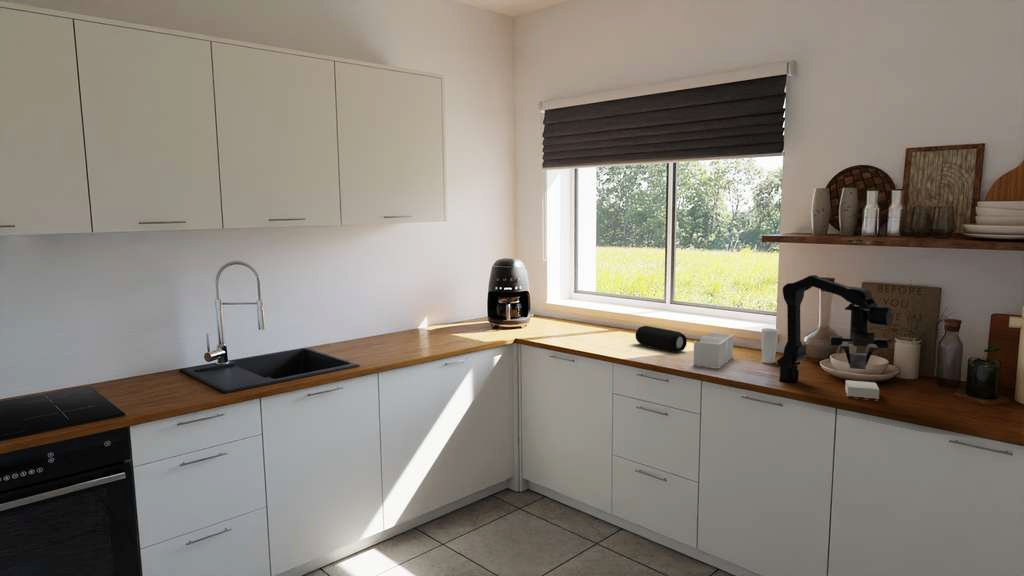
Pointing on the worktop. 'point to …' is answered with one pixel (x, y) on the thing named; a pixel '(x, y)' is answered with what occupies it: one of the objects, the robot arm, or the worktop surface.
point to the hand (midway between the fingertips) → (857, 364)
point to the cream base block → (862, 389)
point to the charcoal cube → (857, 360)
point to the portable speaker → (661, 338)
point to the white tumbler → (769, 345)
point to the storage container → (713, 350)
